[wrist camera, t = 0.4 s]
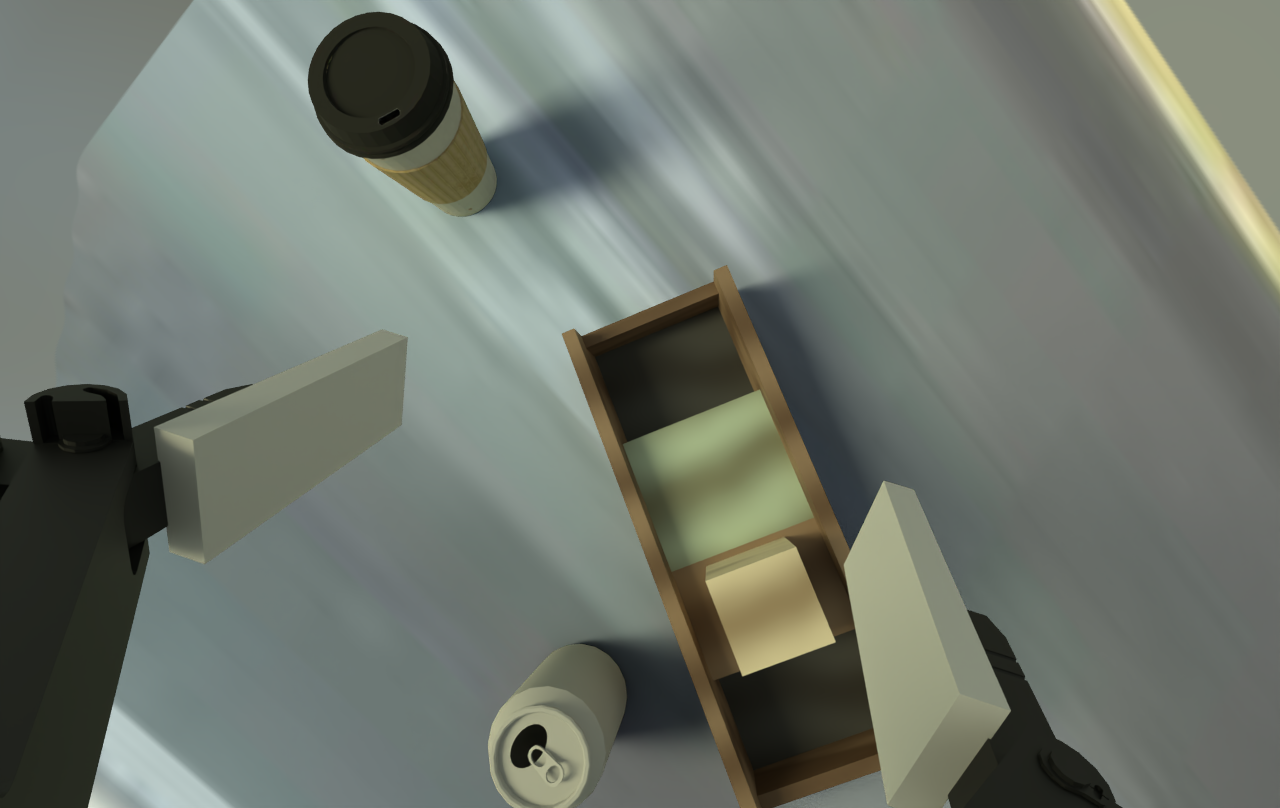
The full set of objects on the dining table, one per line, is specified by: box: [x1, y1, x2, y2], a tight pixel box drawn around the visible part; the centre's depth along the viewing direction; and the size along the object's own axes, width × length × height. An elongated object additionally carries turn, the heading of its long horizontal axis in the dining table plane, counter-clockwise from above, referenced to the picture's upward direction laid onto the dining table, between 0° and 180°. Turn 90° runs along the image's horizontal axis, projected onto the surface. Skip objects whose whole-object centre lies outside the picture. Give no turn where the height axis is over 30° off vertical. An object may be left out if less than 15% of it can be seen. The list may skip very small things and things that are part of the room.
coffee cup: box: [308, 12, 497, 217], centre depth 46 cm, size 10×10×15 cm
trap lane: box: [562, 265, 881, 808], centre depth 44 cm, size 36×13×6 cm, turn 21°
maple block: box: [705, 537, 836, 676], centre depth 39 cm, size 6×6×6 cm
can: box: [488, 644, 627, 808], centre depth 41 cm, size 8×8×12 cm
